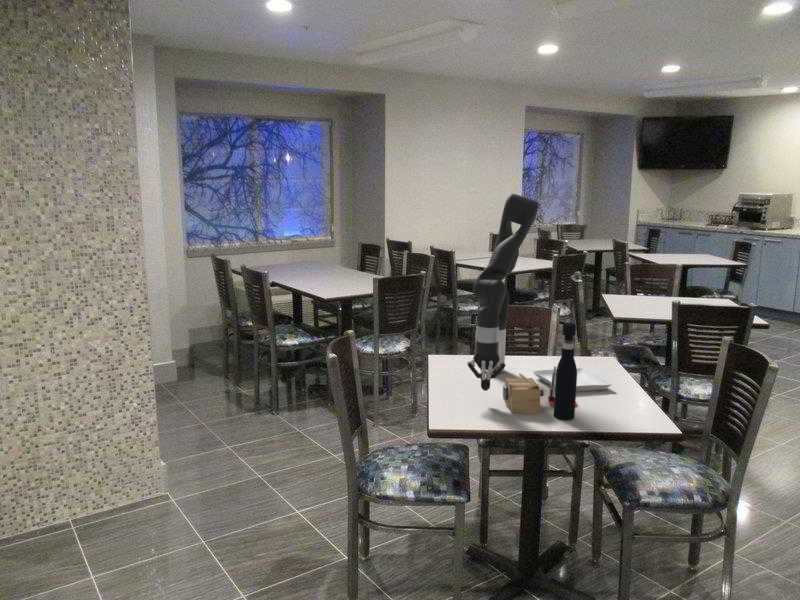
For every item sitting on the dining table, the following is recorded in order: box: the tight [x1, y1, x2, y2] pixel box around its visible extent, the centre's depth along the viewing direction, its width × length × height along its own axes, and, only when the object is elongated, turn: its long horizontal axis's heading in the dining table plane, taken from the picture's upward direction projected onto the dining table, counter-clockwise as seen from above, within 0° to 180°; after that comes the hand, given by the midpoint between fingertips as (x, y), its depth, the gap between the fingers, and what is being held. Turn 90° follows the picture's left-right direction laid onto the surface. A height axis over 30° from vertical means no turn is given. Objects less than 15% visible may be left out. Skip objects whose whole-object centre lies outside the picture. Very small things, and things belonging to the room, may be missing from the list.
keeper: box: [518, 372, 535, 387], centre depth 205 cm, size 3×6×1 cm
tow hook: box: [547, 366, 578, 408], centre depth 213 cm, size 8×13×9 cm
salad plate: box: [532, 367, 612, 393], centre depth 235 cm, size 21×21×3 cm
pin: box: [502, 385, 545, 400], centre depth 212 cm, size 13×5×5 cm, turn 92°
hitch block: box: [503, 377, 542, 414], centre depth 210 cm, size 12×9×9 cm
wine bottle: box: [552, 322, 578, 421], centre depth 199 cm, size 6×6×30 cm
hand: (485, 389), depth 212 cm, fingers closed
